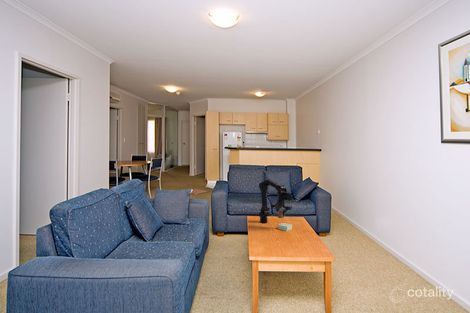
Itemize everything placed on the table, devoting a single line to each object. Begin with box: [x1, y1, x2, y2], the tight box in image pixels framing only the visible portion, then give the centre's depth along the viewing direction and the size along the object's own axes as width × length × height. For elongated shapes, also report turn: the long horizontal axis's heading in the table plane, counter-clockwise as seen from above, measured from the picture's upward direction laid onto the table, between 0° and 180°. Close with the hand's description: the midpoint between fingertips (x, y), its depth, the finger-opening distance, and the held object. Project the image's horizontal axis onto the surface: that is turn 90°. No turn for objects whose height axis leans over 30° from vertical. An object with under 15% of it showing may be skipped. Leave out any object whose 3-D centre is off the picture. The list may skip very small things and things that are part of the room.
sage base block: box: [277, 222, 293, 232], centre depth 236 cm, size 9×9×4 cm
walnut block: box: [277, 209, 285, 219], centre depth 235 cm, size 4×4×6 cm
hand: (281, 216), depth 235 cm, fingers closed on walnut block, 4 cm apart
